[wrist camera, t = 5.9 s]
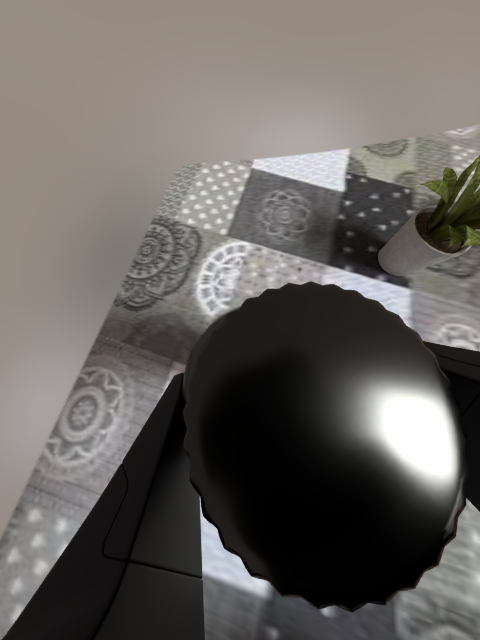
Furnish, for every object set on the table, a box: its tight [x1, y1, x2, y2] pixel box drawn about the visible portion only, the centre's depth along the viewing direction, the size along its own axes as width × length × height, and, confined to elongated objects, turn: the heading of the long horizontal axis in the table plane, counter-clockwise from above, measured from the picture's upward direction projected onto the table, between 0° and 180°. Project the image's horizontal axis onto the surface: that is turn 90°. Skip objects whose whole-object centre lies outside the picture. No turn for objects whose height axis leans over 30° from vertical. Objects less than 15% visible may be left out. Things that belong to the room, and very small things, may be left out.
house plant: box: [378, 156, 480, 276], centre depth 18 cm, size 14×14×16 cm
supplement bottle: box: [182, 282, 470, 612], centre depth 9 cm, size 7×7×12 cm
